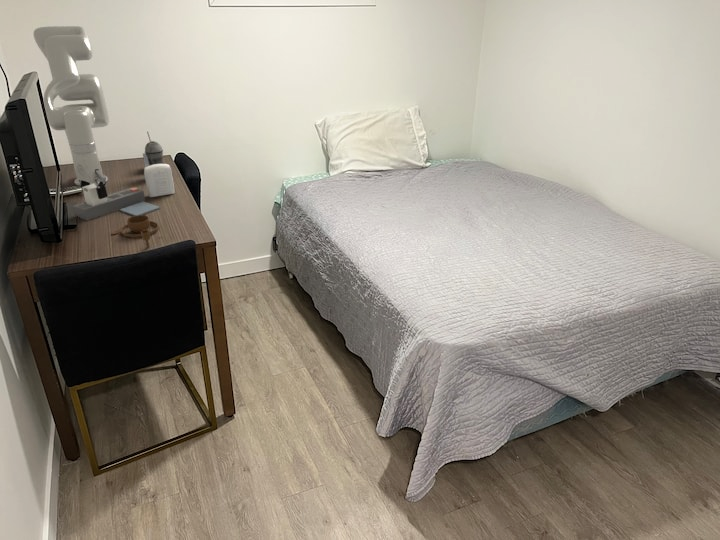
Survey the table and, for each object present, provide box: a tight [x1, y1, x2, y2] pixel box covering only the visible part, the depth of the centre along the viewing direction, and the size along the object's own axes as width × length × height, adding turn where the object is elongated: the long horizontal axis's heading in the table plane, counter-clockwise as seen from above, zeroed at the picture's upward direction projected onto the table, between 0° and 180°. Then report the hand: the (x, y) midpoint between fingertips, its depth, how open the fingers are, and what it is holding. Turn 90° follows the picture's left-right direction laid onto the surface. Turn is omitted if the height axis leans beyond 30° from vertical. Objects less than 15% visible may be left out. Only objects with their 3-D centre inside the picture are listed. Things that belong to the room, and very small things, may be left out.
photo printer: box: [143, 163, 176, 198], centre depth 202 cm, size 10×4×12 cm, turn 123°
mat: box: [119, 201, 161, 217], centre depth 191 cm, size 10×10×1 cm
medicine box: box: [142, 151, 150, 168], centre depth 232 cm, size 8×4×9 cm, turn 179°
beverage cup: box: [144, 131, 164, 165], centre depth 219 cm, size 7×7×20 cm
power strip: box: [72, 186, 146, 221], centre depth 191 cm, size 7×24×4 cm, turn 146°
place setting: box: [111, 214, 163, 249], centre depth 170 cm, size 18×20×6 cm
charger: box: [81, 183, 108, 206], centre depth 185 cm, size 4×6×8 cm
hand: (95, 195), depth 185 cm, fingers open, 9 cm apart
